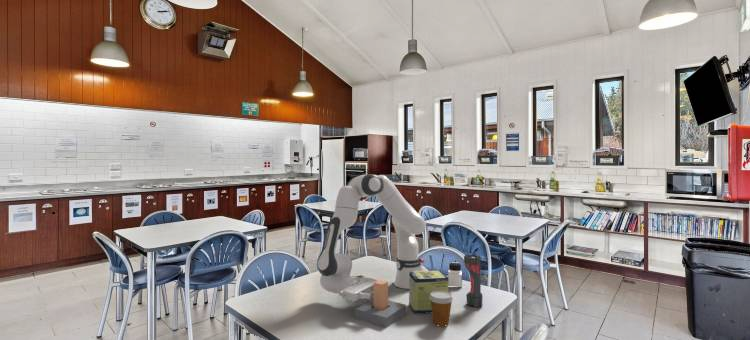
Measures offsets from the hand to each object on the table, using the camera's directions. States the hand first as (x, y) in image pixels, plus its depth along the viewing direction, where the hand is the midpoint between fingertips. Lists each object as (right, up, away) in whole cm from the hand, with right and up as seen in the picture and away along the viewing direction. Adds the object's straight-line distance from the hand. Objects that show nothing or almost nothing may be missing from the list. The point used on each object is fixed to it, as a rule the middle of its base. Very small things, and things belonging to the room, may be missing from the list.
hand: (376, 293), depth 161 cm
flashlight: (+44, -9, +12) cm, 47 cm away
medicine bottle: (+42, -9, +38) cm, 57 cm away
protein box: (+23, -10, +8) cm, 26 cm away
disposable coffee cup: (+26, -10, -8) cm, 29 cm away
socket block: (+2, -9, -1) cm, 10 cm away
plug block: (+2, -9, -1) cm, 9 cm away
